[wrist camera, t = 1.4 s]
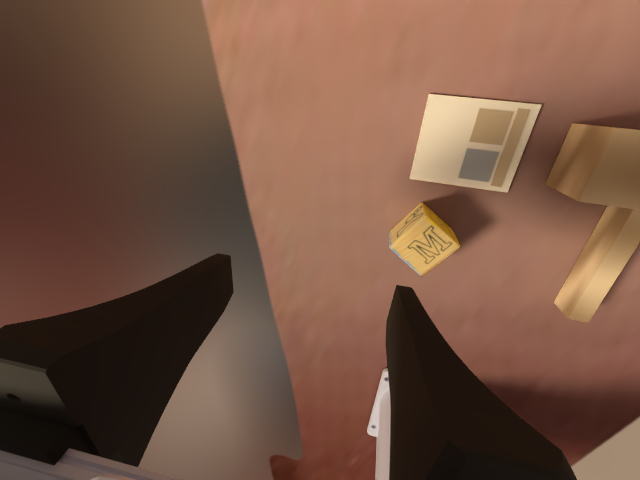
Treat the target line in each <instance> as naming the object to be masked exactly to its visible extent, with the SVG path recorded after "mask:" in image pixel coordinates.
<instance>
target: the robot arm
mask: <svg viewBox="0 0 640 480" xmlns="http://www.w3.org/2000/svg"><path fill="white" fill-rule="evenodd" d="M232 294H233V281H232V269H231V258H230V256H229V255H223V254H215V255H213V256H211V257H209V258H207V259H205V260H203V261H201V262H199V263H197V264H195V265H193V266H191V267H189V268H187V269H185V270H183V271H181V272H179V273H177V274H175V275H173V276H171V277H169V278H167V279H164V280H162V281H160V282H158V283H156V284H154V285H151V286H149V287H147V288H145V289H142V290H140V291H137V292H134V293H131V294H129V295H126V296H123V297H121V298H117V299H114V300H111V301H108V302H105V303H101V304H98V305H95V306H92V307H88V308H84V309H81V310H77V311H73V312H69V313H65V314H60V315H56V316H52V317H47V318H42V319H37V320H32V321H26V322H21V323H16V324H10V325H5V326H3V327H2V328H0V480H182V479H179V478H175V477H171V476H168V475H164V474H160V473H157V472H153V471H150V470H146V469H142V468H138V465H139V463H140V461H141V459H142V457H143V454H144V452H145V450H146V448H147V445H148V443H149V441H150V439H151V436H152V434H153V432H154V430H155V428H156V426H157V424H158V422H159V420H160V418H161V416H162V414H163V412H164V409H165V407H166V405H167V404H168V402H169V400H170V398H171V396H172V394H173V392H174V390H175V388H176V386H177V384H178V382H179V380H180V379H181V377H182V375H183V373H184V371H185V370H186V367H187V366H188V364H189V362H190V361H191V359H192V357H193V356H194V354H195V353H196V352H197V350H198V349H199V347H200V346H201V344H202V343H203V341H204V340H205V338H206V337H207V335H208V334H209V333H210V331H211V330H212V328H213V327H214V325H215V324H216V322H217V321H218V319H219V318H220V316H221V315H222V313H223V312H224V310H225V308H226V306H227V304H228V302H229V300H230V298H231V296H232ZM386 354H387V366H388V368H386V369H384V370H383V372H382V376H381V380H380V383H379V387H378V391H377V394H376V398H375V402H374V406H373V409H372V413H371V417H370V421H369V424H368V428H367V433H368V434H369V435H371V436H375V437H377V448H376V477H375V480H577V479H576V477H575V475H574V472H573V470H572V469H571V467H570V465H569V463H568V461H567V459H566V457H565V456H564V454H563V452H562V451H561V450H560V449H559V448H558V447H556V446H555V445H554V444H553V443H551V442H550V441H549V440H547V439H546V438H545V437H544V436H542V435H541V434H540V433H539V432H537V431H536V430H535V429H533V428H532V427H531V426H530V425H528V424H527V423H526V422H525V421H524V420H522V419H521V418H520V417H519V416H518V415H517V414H515V413H514V412H513V411H512V410H511V409H510V408H509V407H507V406H506V405H505V404H504V403H503V402H502V401H501V400H500V399H499V398H498V397H496V396H495V395H494V394H493V393H492V392H491V391H490V390H489V389H488V388H487V387H486V386H485V385H484V384H483V383H482V382H481V381H480V380H479V379H478V378H477V377H476V376H475V375H474V374H473V373H472V372H471V371H470V369H469V368H468V367H467V366H466V365H465V364H464V363H463V362H462V360H461V359H460V358H459V357H458V356H457V355H456V353H455V352H454V351H453V350H452V348H451V347H450V346H449V345H448V343H447V342H446V341H445V339H444V338H443V336H442V335H441V334H440V332H439V331H438V329H437V328H436V326H435V325H434V323H433V322H432V320H431V319H430V317H429V316H428V314H427V312H426V311H425V309H424V308H423V306H422V304H421V302H420V301H419V299H418V297H417V296H416V294H415V292H414V290H413V289H412V288H411V287H405V286H399V285H396V289H395V292H394V296H393V300H392V303H391V307H390V311H389V315H388V318H387V324H386ZM386 377H388V378H386Z"/></svg>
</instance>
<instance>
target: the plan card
mask: <svg viewBox="0 0 640 480" xmlns="http://www.w3.org/2000/svg"><path fill="white" fill-rule="evenodd" d="M540 108H541V105H540V104H529V103H519V102H508V101H498V100H488V99H477V98H467V97H456V96H446V95H436V94H429V95H428V100H427V104H426V108H425V113H424V117H423V121H422V126H421V130H420V134H419V139H418V143H417V148H416V152H415V156H414V161H413V165H412V169H411V174H410V179H414V180H421V181H428V182H435V183H442V184H450V185H457V186H464V187H471V188H478V189H486V190H493V191H500V192H507V193H508V190H509V188H510V185H511V182H512V180H513V177H514V175H515V172H516V169H517V167H518V164H519V162H520V159H521V157H522V154H523V151H524V149H525V146H526V144H527V141H528V139H529V136H530V133H531V131H532V128H533V126H534V123H535V121H536V118H537V115H538V113H539V110H540Z"/></svg>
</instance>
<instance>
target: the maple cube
mask: <svg viewBox="0 0 640 480" xmlns="http://www.w3.org/2000/svg"><path fill="white" fill-rule="evenodd" d="M545 185H547V186H549V187H551V188H553V189H555V190H557V191H559V192H561V193H563V194H565V195H567V196H568V197H570V198H572V199H574V200H576V201H578V202H585V203H592V204H599V205H607V206H614V207H621V208H628V209H635V210H640V130H634V129H624V128H615V127H605V126H595V125H586V124H576V123H572V125H571V127H570V129H569V132H568V134H567V136H566V138H565V141H564V143H563V145H562V147H561V150H560V152H559V154H558V157H557V159H556V161H555V163H554V166H553V168H552V170H551V172H550V175H549V177H548V179H547V181H546V184H545Z"/></svg>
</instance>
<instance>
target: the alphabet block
mask: <svg viewBox="0 0 640 480" xmlns="http://www.w3.org/2000/svg"><path fill="white" fill-rule="evenodd" d="M389 247H390V249H391V250H392V251H393V252H394V253H395V254H396V255H398V256H399V257H400V258H401V259H402V260H403V261H404V262H405V263H407V264H408V265H409V266H410V267H411V268H412V269H413V270H415V271H416V272H417V273H418V274H419V275H420V276H424V275H425V274H426V273H427V272H429V271H430V270H431V269H432V268H434V267H435V266H436V265H438V264H439V263H440V262H442V261H443V260H444V259H445V258H447V257H448V256H449V255H451V254H452V253H453V252H455V251H456V250H457V249H459V248H460V244H459V242H458V240H457V238H456V236H455V234H454V232H453V230H452V229H451V228H450V227H449V226H448V225H447V224H446V223H445V222H443V221H442V220H441V219H440V218H439V217H438V216H437V215H436V214H435V213H434V212H433V211H431V210H430V209H429V208H428V207H427V206H426V205H425V204H424V203H422V202H421V203H420V204H419V205H418V206H417V207H416V208H415V209H414V210H412V211H411V212H410V213H409V214H408V215H407V216H406V217H405V218H404V219H403V220H402V221H400V222H399V223H398V224H397V225H396V226H395V227H394V228H393V229H392V230H390V232H389Z"/></svg>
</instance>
